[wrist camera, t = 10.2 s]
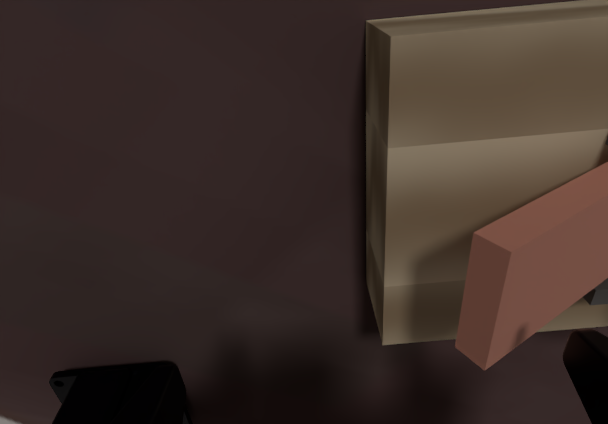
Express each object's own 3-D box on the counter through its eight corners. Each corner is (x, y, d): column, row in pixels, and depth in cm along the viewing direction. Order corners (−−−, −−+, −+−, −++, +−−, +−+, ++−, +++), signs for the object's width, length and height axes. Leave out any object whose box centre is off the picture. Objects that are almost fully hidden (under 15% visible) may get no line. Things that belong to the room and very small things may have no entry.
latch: (623, 153, 13) (661, 163, 12) (587, 255, 15) (618, 269, 14) (473, 232, 10) (511, 252, 9) (455, 347, 12) (484, 370, 11)
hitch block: (686, 254, 20) (810, 342, 15) (366, 282, 20) (391, 378, 16) (825, -23, 14) (1103, -19, 9) (365, 20, 14) (405, 45, 9)
